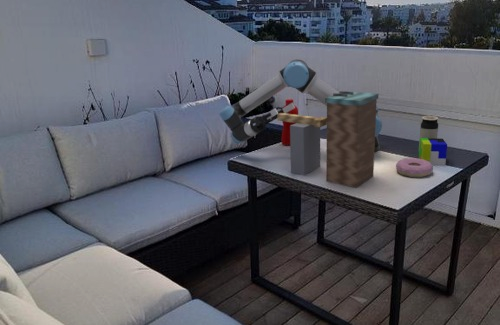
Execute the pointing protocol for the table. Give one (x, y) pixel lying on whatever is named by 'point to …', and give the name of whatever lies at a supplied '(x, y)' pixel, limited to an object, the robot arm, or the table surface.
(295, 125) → the plinth
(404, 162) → the donut
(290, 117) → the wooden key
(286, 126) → the water bottle
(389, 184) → the table surface
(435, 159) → the puzzle toy
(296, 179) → the table surface
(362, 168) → the laundry hamper
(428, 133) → the travel mug
